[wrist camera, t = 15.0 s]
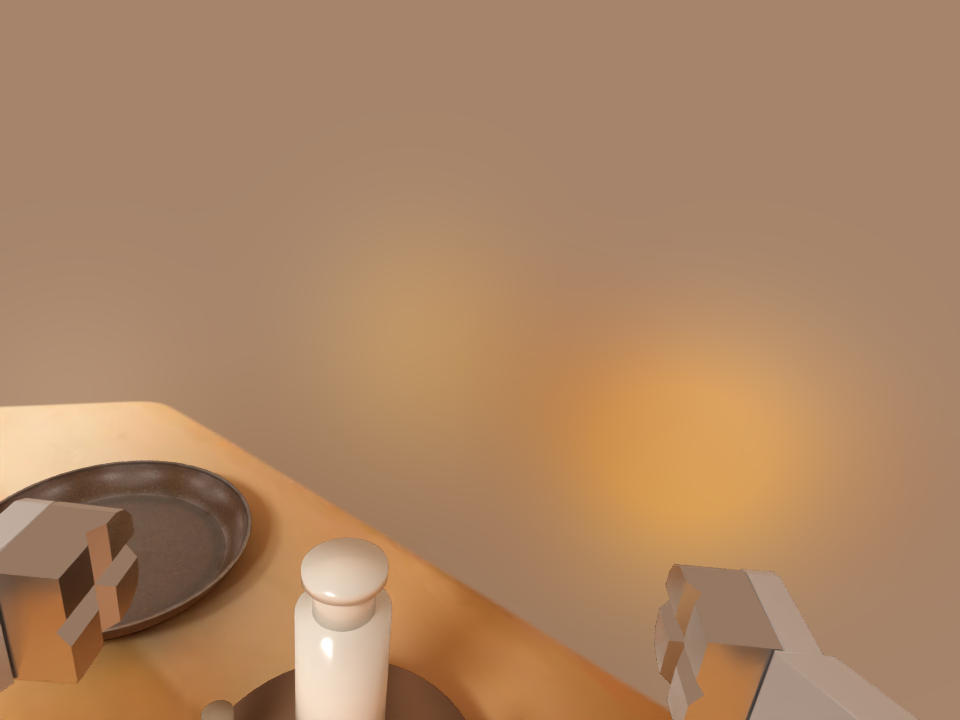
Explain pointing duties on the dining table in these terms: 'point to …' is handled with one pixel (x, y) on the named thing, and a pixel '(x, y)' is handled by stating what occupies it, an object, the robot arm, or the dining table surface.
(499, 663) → the dining table surface
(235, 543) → the plant saucer
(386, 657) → the bud vase
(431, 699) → the pedestal
